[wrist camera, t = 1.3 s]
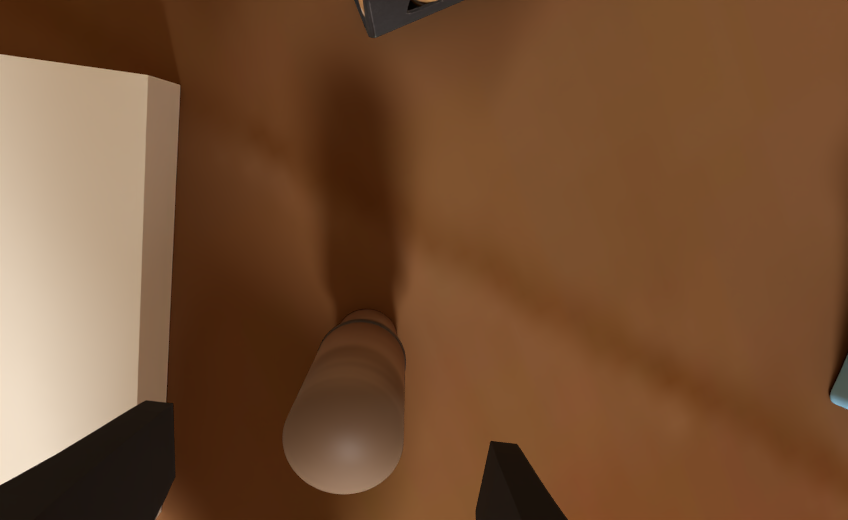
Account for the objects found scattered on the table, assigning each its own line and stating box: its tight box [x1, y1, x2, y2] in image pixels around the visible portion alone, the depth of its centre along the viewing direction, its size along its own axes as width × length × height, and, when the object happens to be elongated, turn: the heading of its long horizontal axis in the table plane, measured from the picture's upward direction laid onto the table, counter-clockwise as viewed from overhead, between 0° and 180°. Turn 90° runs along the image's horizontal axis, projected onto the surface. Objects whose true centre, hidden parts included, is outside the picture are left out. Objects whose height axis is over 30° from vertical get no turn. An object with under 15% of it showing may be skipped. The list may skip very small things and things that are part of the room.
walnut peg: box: [283, 309, 406, 494], centre depth 18 cm, size 3×3×8 cm
